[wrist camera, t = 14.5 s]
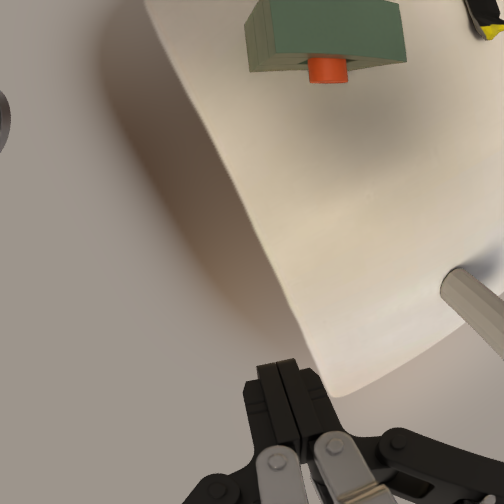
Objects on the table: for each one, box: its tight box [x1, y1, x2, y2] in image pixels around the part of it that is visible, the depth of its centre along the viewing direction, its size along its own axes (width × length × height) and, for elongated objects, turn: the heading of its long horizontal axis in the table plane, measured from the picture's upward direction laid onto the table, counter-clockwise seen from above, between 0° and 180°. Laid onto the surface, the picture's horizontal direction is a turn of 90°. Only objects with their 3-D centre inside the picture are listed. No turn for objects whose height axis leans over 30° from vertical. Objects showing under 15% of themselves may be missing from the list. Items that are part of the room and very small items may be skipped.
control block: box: [244, 0, 407, 72], centre depth 24 cm, size 6×12×12 cm, turn 96°
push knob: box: [308, 58, 348, 83], centre depth 24 cm, size 3×4×4 cm
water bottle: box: [441, 269, 504, 360], centre depth 39 cm, size 9×8×25 cm
